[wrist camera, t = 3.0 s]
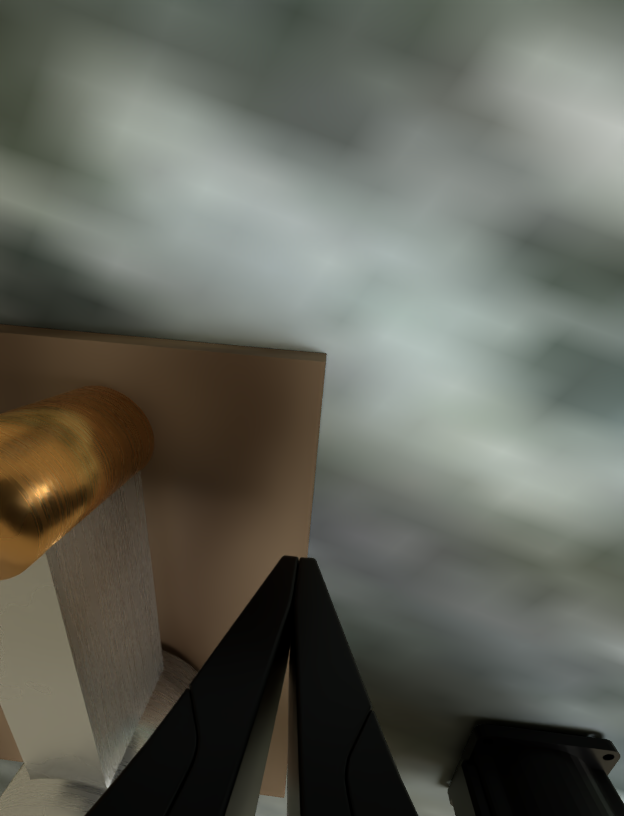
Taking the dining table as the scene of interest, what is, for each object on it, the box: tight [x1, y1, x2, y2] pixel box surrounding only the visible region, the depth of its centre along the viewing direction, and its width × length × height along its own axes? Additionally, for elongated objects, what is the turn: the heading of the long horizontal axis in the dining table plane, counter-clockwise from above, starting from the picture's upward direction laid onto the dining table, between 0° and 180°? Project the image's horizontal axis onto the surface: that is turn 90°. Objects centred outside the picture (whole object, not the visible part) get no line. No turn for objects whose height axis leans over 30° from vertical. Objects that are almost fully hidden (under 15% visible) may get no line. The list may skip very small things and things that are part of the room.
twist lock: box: [0, 386, 198, 816], centre depth 9 cm, size 15×5×4 cm, turn 175°
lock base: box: [0, 324, 327, 798], centre depth 13 cm, size 20×22×2 cm
